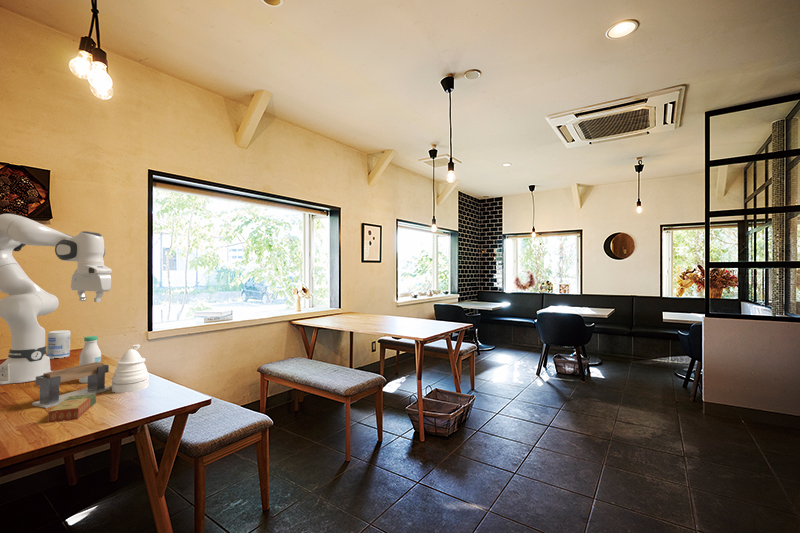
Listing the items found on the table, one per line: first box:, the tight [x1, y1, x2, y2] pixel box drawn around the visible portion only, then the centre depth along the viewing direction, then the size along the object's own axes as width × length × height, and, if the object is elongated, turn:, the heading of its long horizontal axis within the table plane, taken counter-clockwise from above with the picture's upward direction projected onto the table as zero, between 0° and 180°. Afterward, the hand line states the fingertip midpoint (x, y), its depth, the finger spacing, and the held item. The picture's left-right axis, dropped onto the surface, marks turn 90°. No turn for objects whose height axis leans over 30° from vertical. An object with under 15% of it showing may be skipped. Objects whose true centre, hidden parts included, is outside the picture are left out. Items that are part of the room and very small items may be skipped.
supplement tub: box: [46, 329, 72, 360], centre depth 208 cm, size 10×10×15 cm
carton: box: [47, 394, 97, 423], centre depth 131 cm, size 8×16×4 cm, turn 23°
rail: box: [43, 362, 104, 383], centre depth 146 cm, size 4×18×4 cm, turn 161°
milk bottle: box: [78, 335, 102, 384], centre depth 167 cm, size 8×8×20 cm
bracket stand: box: [32, 363, 111, 409], centre depth 146 cm, size 8×22×10 cm, turn 161°
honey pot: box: [111, 344, 150, 394], centre depth 158 cm, size 13×13×18 cm
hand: (90, 301), depth 158 cm, fingers open, 8 cm apart
